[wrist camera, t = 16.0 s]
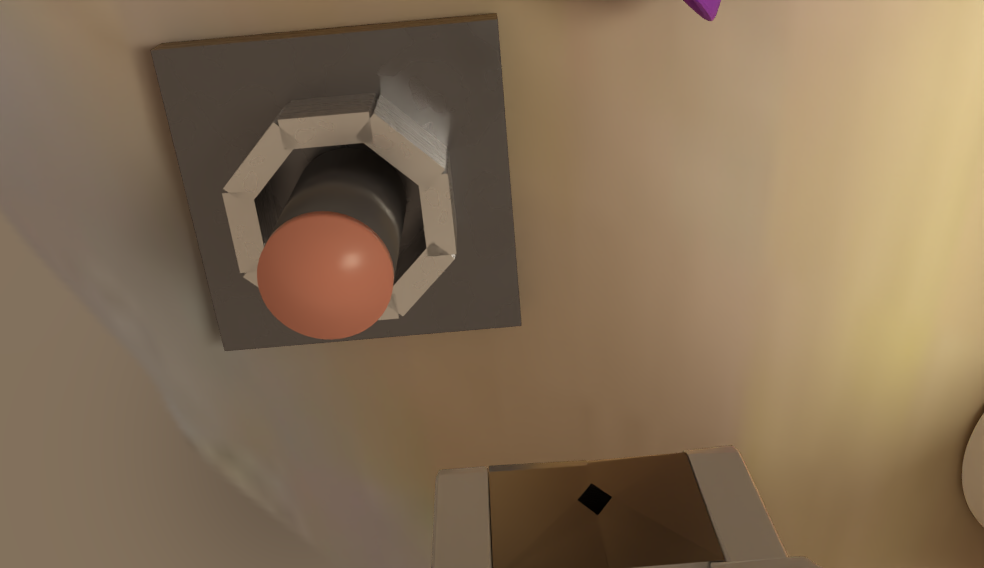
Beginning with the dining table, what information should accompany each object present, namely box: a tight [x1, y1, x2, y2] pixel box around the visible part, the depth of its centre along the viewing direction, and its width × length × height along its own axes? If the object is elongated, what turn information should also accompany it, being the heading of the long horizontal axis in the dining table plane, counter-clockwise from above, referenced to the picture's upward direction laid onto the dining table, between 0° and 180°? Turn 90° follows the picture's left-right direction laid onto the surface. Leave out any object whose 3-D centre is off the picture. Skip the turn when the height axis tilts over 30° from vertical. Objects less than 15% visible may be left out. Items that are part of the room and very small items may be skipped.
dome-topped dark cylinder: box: [257, 148, 406, 339], centre depth 35 cm, size 5×5×8 cm
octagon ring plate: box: [151, 13, 521, 351], centre depth 38 cm, size 14×14×4 cm
